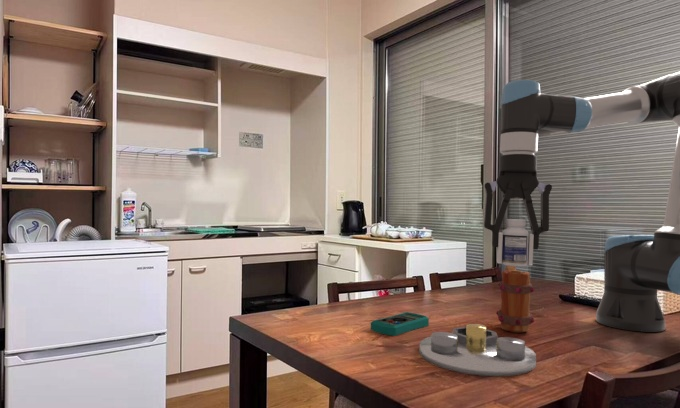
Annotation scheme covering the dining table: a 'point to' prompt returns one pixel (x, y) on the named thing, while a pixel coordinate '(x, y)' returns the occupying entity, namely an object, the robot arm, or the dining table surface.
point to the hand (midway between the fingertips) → (514, 263)
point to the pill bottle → (515, 243)
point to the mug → (515, 300)
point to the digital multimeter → (399, 323)
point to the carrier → (477, 352)
